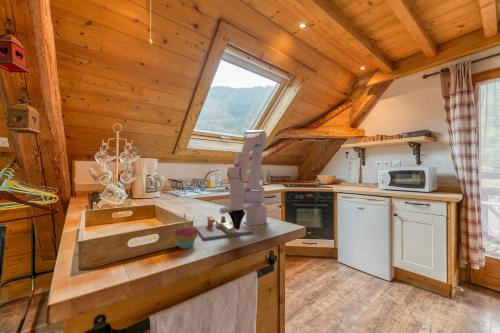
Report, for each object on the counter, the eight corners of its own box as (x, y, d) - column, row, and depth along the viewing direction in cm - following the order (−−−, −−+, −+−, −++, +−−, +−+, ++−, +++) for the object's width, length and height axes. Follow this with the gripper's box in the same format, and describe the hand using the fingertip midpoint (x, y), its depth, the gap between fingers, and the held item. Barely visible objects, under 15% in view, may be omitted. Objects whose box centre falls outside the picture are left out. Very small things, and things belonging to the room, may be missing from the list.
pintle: (224, 225, 101) (224, 216, 101) (225, 226, 100) (225, 217, 99) (220, 226, 100) (220, 216, 100) (221, 227, 99) (222, 217, 99)
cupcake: (196, 250, 76) (196, 214, 75) (169, 251, 75) (169, 214, 75) (200, 241, 84) (200, 208, 84) (176, 241, 84) (176, 209, 83)
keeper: (211, 227, 102) (211, 216, 102) (215, 230, 97) (215, 218, 97) (207, 227, 101) (207, 216, 101) (210, 231, 96) (210, 219, 96)
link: (216, 225, 101) (216, 220, 101) (226, 223, 103) (226, 219, 103) (225, 234, 89) (225, 229, 89) (237, 232, 91) (237, 227, 91)
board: (238, 223, 108) (238, 221, 108) (252, 233, 94) (252, 231, 94) (195, 228, 100) (195, 226, 100) (203, 240, 85) (203, 237, 85)
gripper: (245, 192, 100) (245, 223, 100) (216, 195, 91) (215, 229, 92) (255, 194, 94) (255, 227, 95) (225, 198, 86) (225, 234, 86)
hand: (236, 229), depth 93 cm, fingers closed
